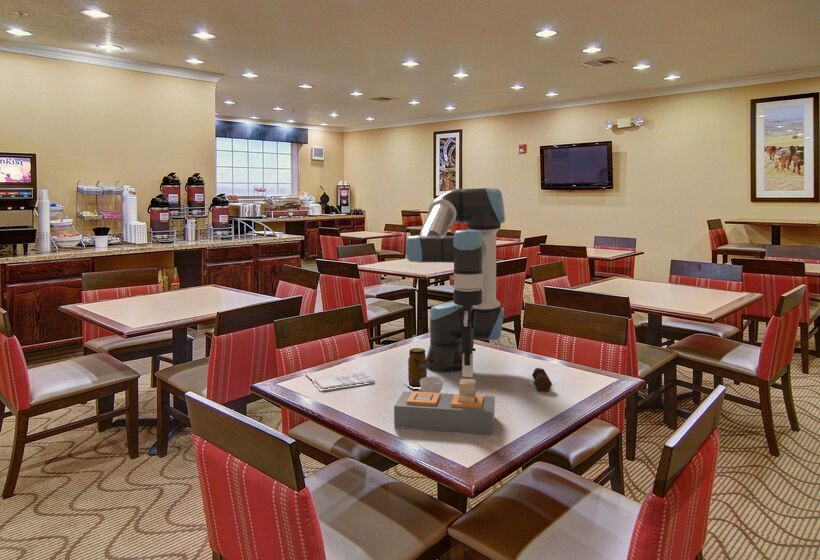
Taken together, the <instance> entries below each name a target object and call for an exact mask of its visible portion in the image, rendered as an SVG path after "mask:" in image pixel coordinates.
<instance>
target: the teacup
mask: <svg viewBox="0 0 820 560" xmlns="http://www.w3.org/2000/svg"><path fill="white" fill-rule="evenodd" d="M443 384H444V379H443V378H441V377H439V376H427V377H424V378H421V379H420V387H421V389H420V390H415V392H432V393H444V394H448V392H447V391H446V389H443V386H444V385H443Z"/></svg>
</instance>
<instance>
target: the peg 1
mask: <svg viewBox="0 0 820 560" xmlns="http://www.w3.org/2000/svg"><path fill="white" fill-rule="evenodd" d="M431 399H432V395H424V394H418V395H417V397H416V399H415V400H431Z"/></svg>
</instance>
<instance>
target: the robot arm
mask: <svg viewBox="0 0 820 560" xmlns="http://www.w3.org/2000/svg"><path fill="white" fill-rule="evenodd" d="M427 215H428V216H427V218H426V220H425V222H424V225H423V227H422V228H421V231H420V233H419V234H418V235H417V234H416V235H409V236H407V238H406V241H405V256H406V259H407V261H408V262H411V263H412V262H413V263H419V264H422V263H450V264H451V263H453V276H451V280H453V288H454V290H453V301H452V302H442V303H440V304H436V305H433V306H432V307H431V308H430V312H429V314H430V315H429V326H430V327H429V332H430V333H429V334H430V335H429V336H430V337H429V339H430V341H429V342H430V345H429V347H428V348H429V349H428V350H427V351H428V352H427V355H426V356H425V357H426V360H427V369H429V370H431V371H437V372H457V371H461V375H462V376H461V377H463V378H464V377H465V378H473V376H474V352H476V348H474V346H475V345H474V340H477V341H478V340H480V341H487V342H488V341H498V340H499V339H500V338H501V337H502V329H503V321H504V316H505V315H504V314H505V308H503V307H501V302H500V300H498V299H497V232H499V230H501V227H502V226H501V225H502V224H504V223H505V222H506V215H505V204H504V198H503V193H502V191H501V189H498V188H491V187H485V188H483V187H482V188H481V187H479V188H478V187H477V188H455V189H450V190H447V191H445V192H444V193H442V194H440V195H439V196H437V197H435V198H434V200H433V201H432V202H431V203H430V205H429V207H428V211H427ZM452 224H466V229H462V230H461V229H460V230H455V231H454V233H453V235H447V233H448V231H449V228H450V226H451V225H452Z"/></svg>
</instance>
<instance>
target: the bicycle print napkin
mask: <svg viewBox="0 0 820 560" xmlns="http://www.w3.org/2000/svg"><path fill="white" fill-rule="evenodd" d="M358 372H359V371H358ZM317 378H318V377H317ZM317 378H315V379H314V381H315V383H316V384H317V385H318V386H319V387H320V388H321V389H328V388H335V387H342V386H349V385H356V384H364V383H371V382H372V383H375V382H376V380H375V379H373V378H372V377H370V375H369V374H367V372H365V370H362V371H360V372H359V373H355V374H349V375H345V376H340V377H331V378H321V379H317Z"/></svg>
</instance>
